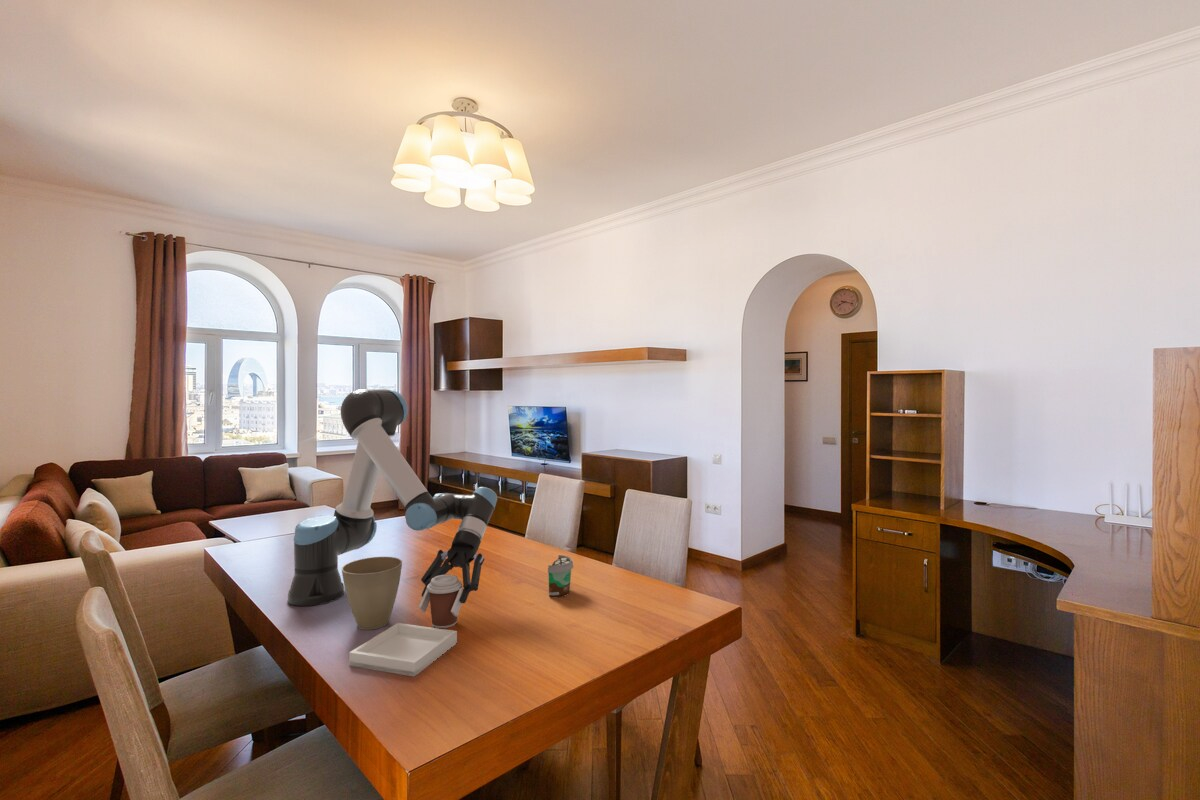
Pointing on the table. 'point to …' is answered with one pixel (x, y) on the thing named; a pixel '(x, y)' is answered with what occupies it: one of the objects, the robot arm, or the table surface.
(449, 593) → the coffee cup
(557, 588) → the food container
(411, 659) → the tray
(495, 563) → the table surface
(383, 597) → the plant pot
